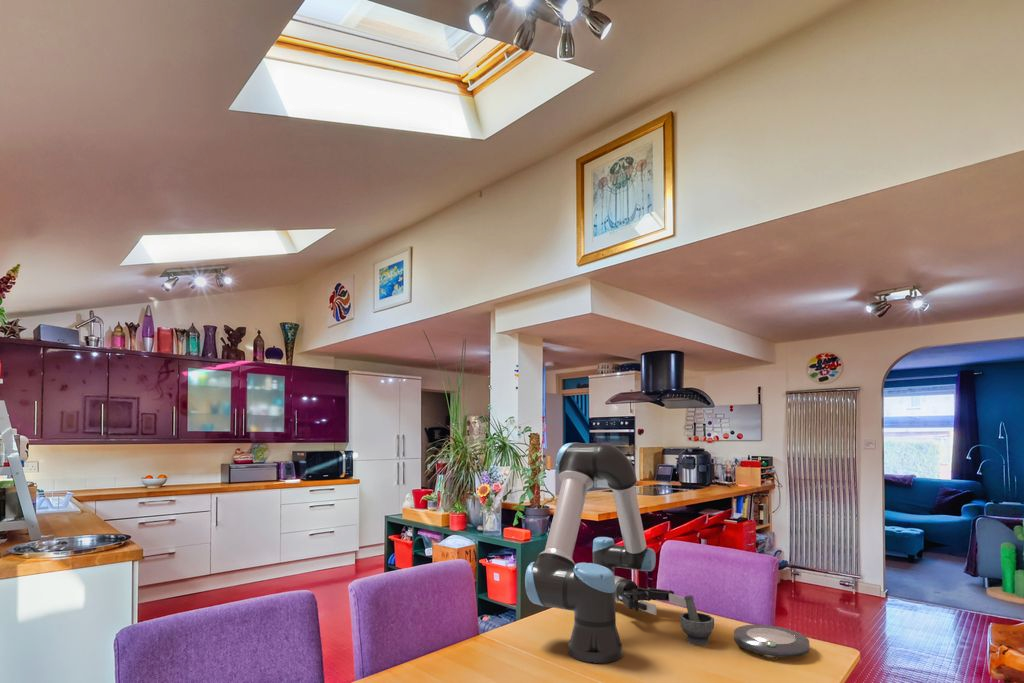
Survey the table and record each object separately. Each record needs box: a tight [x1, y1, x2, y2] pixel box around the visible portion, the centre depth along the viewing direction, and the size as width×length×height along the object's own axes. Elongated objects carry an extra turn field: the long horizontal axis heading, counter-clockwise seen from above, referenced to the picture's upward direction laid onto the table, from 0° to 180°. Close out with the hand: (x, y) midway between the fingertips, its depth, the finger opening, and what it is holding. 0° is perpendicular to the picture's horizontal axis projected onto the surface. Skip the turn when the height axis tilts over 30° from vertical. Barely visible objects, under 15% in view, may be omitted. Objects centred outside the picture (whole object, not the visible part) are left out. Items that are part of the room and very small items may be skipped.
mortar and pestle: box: [679, 594, 715, 647], centre depth 180 cm, size 11×9×12 cm
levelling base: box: [733, 624, 811, 660], centre depth 174 cm, size 20×20×4 cm
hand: (670, 606), depth 188 cm, fingers open, 13 cm apart
